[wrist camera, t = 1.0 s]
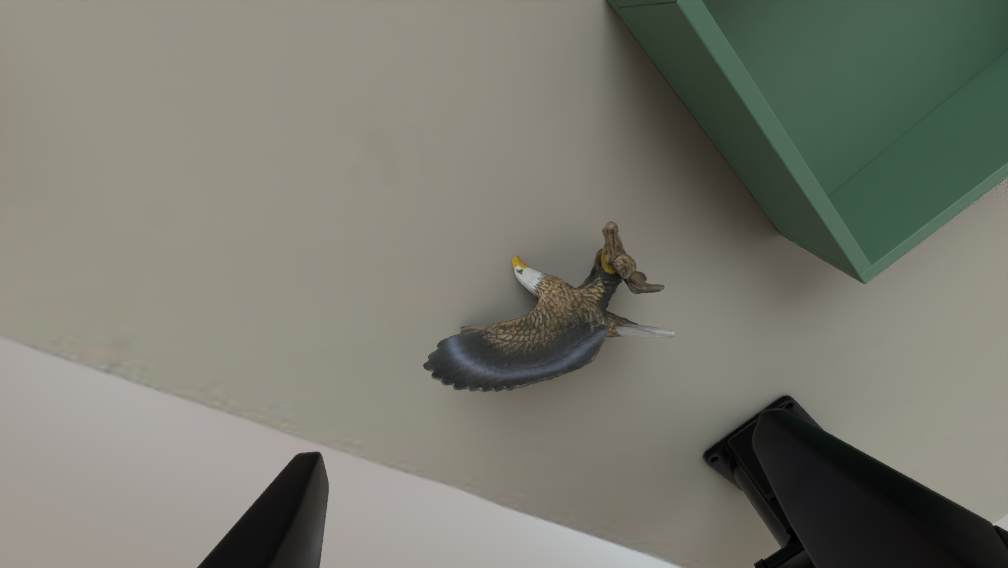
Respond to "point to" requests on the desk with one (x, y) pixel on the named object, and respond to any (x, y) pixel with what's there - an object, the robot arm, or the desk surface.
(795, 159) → the bin
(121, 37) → the desk surface
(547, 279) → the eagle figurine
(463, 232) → the desk surface
